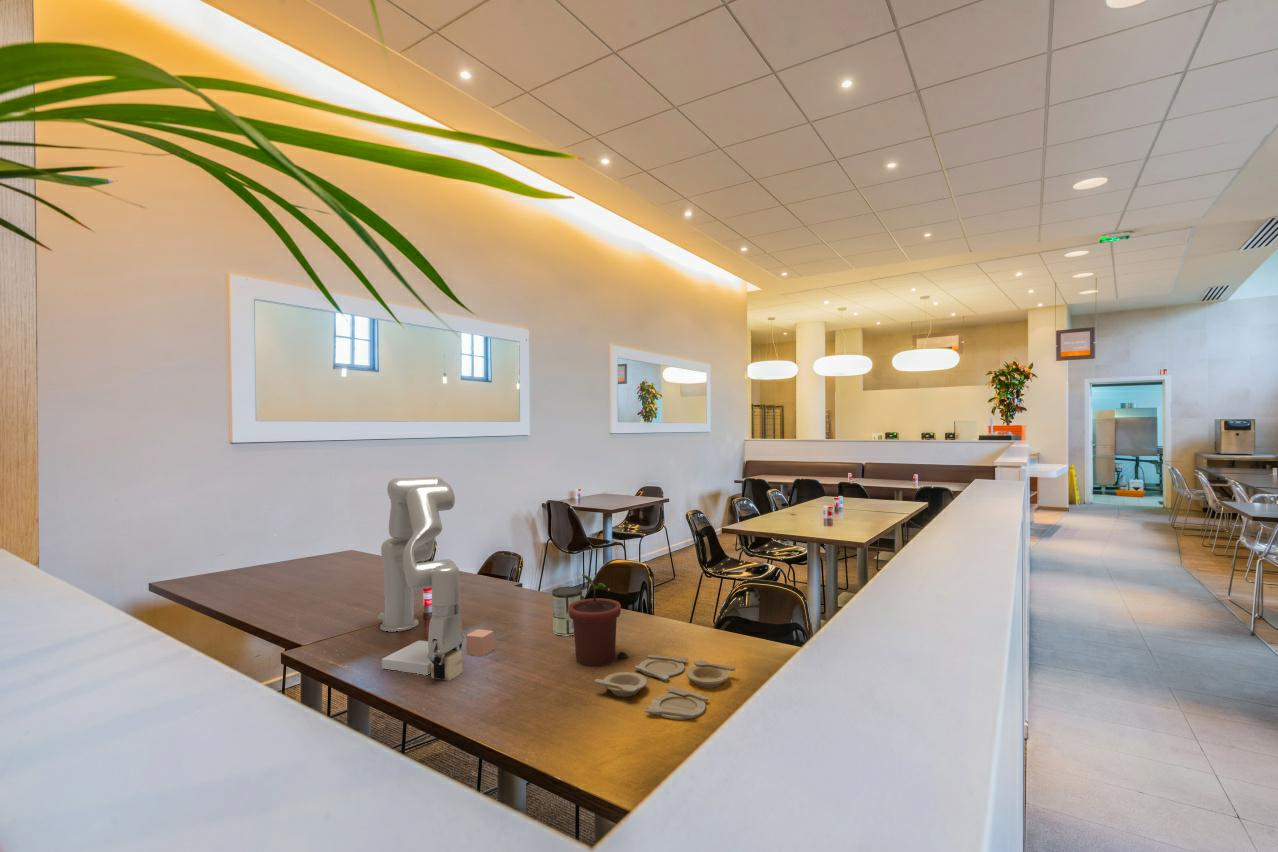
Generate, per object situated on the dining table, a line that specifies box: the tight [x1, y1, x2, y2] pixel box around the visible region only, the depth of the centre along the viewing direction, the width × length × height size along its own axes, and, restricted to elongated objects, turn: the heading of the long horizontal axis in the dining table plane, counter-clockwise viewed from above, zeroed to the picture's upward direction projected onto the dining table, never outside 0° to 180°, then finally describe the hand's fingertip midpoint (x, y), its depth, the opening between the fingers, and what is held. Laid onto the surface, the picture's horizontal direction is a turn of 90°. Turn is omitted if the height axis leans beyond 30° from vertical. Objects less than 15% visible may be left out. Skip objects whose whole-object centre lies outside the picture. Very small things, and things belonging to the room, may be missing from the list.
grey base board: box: [381, 640, 463, 676], centre depth 180 cm, size 16×16×3 cm
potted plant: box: [568, 574, 629, 667], centre depth 184 cm, size 18×22×25 cm
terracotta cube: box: [465, 628, 495, 657], centre depth 188 cm, size 6×6×6 cm
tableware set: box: [594, 654, 736, 721], centre depth 160 cm, size 35×29×4 cm
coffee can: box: [551, 586, 583, 637], centre depth 206 cm, size 10×10×14 cm
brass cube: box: [430, 650, 463, 681], centre depth 170 cm, size 6×6×6 cm
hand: (446, 672), depth 170 cm, fingers closed on brass cube, 6 cm apart
